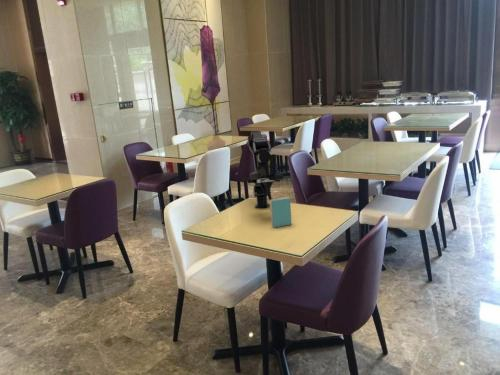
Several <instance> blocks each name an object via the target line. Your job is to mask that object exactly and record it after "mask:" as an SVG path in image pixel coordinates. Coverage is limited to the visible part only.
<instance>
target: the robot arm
mask: <svg viewBox="0 0 500 375" xmlns="http://www.w3.org/2000/svg"><path fill="white" fill-rule="evenodd" d="M247 147H249V151H250V152H251V153H252V155H253V157H252V158H253V164H254V165H253V166H254V171H253V172H251V173H249V177H248V178H247V181H246V182H247V184H253V187H252V193H253V197H254V198H256V205H255V206H254V208H258V209H260V208H261V209H267V208H268V207H269V206H271V204H270V202H269V203H268V197H269V196H271V190H272V186H273V183H275V181H279V180H280V181H281V180H284V176H283V174H282V173H274V174H272V173H271V170H270V169H271V168H272V166H271V165H270V161H271V159H272V155H271V153H270V152H271V151H272V145H271V143H270V141H269V140H268V138H266V137H264V135H263V134H262V132H261V130H253V131H251V132H250V134H249V135H248V136H247Z"/></svg>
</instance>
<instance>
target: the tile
mask: <svg viewBox="0 0 500 375" xmlns="http://www.w3.org/2000/svg"><path fill="white" fill-rule="evenodd" d="M269 204H270V213H271V215H270V216H271V217H270V218H271V227H272V228H274V229H275V228H280V227H284V226H285V227H286V226H291V225H292V207H291V197H289V196H286V197H279V198H273V199H272V198H271V199H270V200H269ZM292 226H293V225H292Z"/></svg>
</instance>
